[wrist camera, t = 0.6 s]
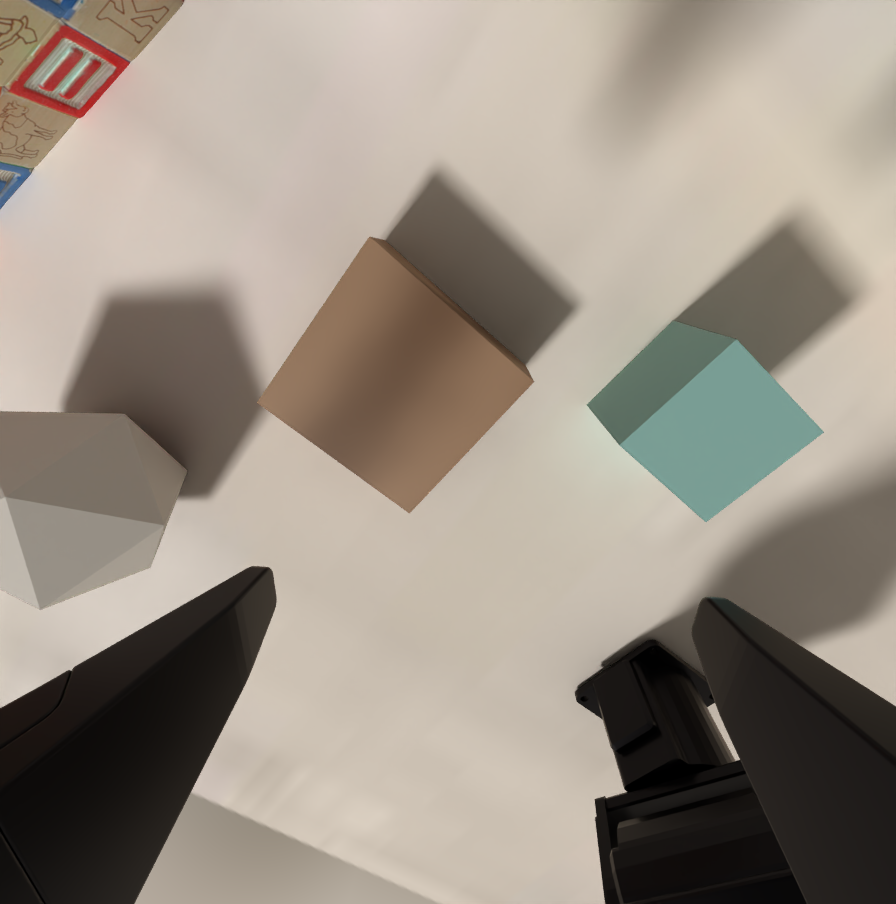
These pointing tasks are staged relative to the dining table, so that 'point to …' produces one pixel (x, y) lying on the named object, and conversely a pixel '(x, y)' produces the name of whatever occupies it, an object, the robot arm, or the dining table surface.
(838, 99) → the dining table surface
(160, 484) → the die
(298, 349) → the walnut base
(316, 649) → the dining table surface
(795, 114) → the dining table surface
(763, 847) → the robot arm
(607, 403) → the teal cube
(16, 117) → the printed cardboard box
